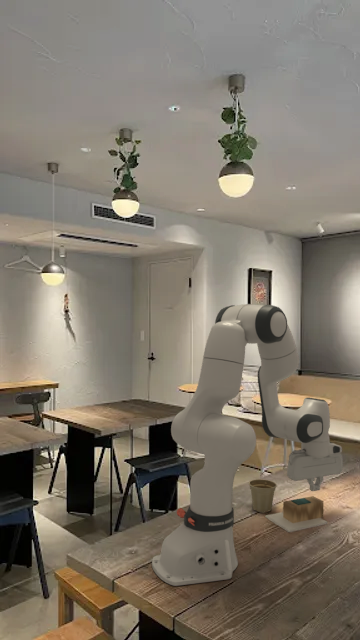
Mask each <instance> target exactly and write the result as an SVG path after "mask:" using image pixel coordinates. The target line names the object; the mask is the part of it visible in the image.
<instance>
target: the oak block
mask: <svg viewBox="0 0 360 640" xmlns="http://www.w3.org/2000/svg"><path fill="white" fill-rule="evenodd" d="M282 503H283V505H282V506H283V507H282V508H283V511H282V512H283V517H284V518H285V519H287V520H289V521H290V522H292V523H296V522H301V521H306V520H311V519H316V518H321V519H322V518H324V503H325V502H324V500H322V499H319V498H317V497H316V496H314V495H312V496H307V497H300V498H296V499H295V498H294V499H289V500H284V501H282Z"/></svg>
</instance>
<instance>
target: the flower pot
mask: <svg viewBox="0 0 360 640" xmlns="http://www.w3.org/2000/svg"><path fill="white" fill-rule="evenodd" d="M248 485H249V489H250V494H251V495H250V496H251V501H252V509H253V511H257V512H258V513H268V512H271V511H272V508H273V502H274V495H275V491H276V488H277V487H278V485H277V482H275V481H272V480H269V479H261V478H260V479H259V478H258V479H251V480H250V481H248Z"/></svg>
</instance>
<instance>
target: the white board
mask: <svg viewBox="0 0 360 640" xmlns="http://www.w3.org/2000/svg"><path fill="white" fill-rule="evenodd" d="M265 518H266V519H267V520H269V521H270V522H272V523H273V524H275V525H276V526H278V527H280V528H282V529H283V530H284V531H286V532H287V533H293V532H296V531H302V530H305V529H310V528H311V529H312V528H315V527H319V526H320V527H321V526H325V525H328V522H329V521H327V520H325V519H323V518H322V517H321V518H316V519H311V520H306V521H301V522H296V523H292V522H290V521H289V520H287V519H285V518H284V517H283V511H282V512H277V513H271V514H266V515H265Z"/></svg>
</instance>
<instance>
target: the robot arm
mask: <svg viewBox="0 0 360 640" xmlns="http://www.w3.org/2000/svg"><path fill="white" fill-rule="evenodd" d="M247 344H251V345H252V344H256V345H257V349H258V350H257V351H258V353H259V354H258V355H259V357H260V364H261V365H260V366H259V368H258V370H257V385H258V386H257V387H258V391H259V398H260V404H261V405H260V406H261V425H262V429H263V431H264V433H265V434H266V435H267V436H268V437H270V438H278V439H284V440H286V441H291V442H295V443H296V442H297V443H301V445H300V446H301V447H300V448H301V449H294V450H292V451H291V452H290V454H289V455H288V463H287V470H286V471H287V472H286V476H287V477H288V479H289V480H291V481H294V482H297V481H304V480H306V481H307V483H308V485H309V491H310V492H316V491H320V490H321V485H322V483H323V480H324V477H329V476H333V475H339V474H342V471H343V466H344V465H343V464H344V463H343V455H342V451H343V447H342V446H341V445H339V444H336V443H334V442H331V441H330V434H329V432H330V426H331V424H330V423H331V419H330V417H331V416H330V415H331V413H330V408H329V407H330V406H329V403H328V402H327V401H326V400H324V399H320V398H314V397H305V398H304V399H303V404H302V405H301V406H300V407H299V408H297V409H296V410H295V409H293V408H286V407H284V406H283V405H281V404H280V401H279V393H278V385H277V383H278V382H282V381H284V380H287V379H288V378H289V377H291V376H293V375H294V373H295V372H296V371H297V369H298V367H299V365H300V357H299V352H298V348H297V345H296V343H295V339H294V336H293V334H292V331H291V329H290V327H289V324H288V319H287V317H286V314H285V313H284V311H283V310H282V309H281V308H280V307H279V306H275V305H273V304H253V303H252V304H251V303H246V304H245V303H244V304H237V305H235V304H234V305H233V304H232V305H229V306H225V307H223V308H221V309H220V310H219V311H218V313H217V316H216V318H215V321H214V324H213V325H212V327H211V328H210V331H209V334H208V336H207V340H206V343H205V347H204V350H203V351H204V352H203V356H202V363H201V368H200V374H199V377H198V383H197V386H196V389H195V392H194V394H193V396H192V398H191V399H190V401H189V403H188V404H187V405H186V406H185V408H184V409H183V410H180V411H179V412H178V413H177V414H176V415H175V416H174V418H173V419H172V422H171V426H170V427H171V428H170V433H171V434H170V435H171V438H172V440H173V441H174V442H175V443H176V444H177V445H179V446H180V447H183V448H184V449H186V450H188V451H191V452H194V453H198V454H201V455H204V465H203V467H202V468H200V469H199V470H197V471H196V472H195V473H194V474H192V476H191V479H190V482H189V483H190V484H189V486H190V487H189V494H190V496H189V503H190V504H189V506H188V508H187V511H186V510H184V509H183V507H182V508H181V507H180V508H178V509H177V510H176V515H177V516H178V517H180V518H181V519H183V522H182V523H181V524H179V526H177V528H175V529H174V530H173V531H172V532H171V533H170V534H169V535H167V536H166V537H165V538H164V540H163V541H162V544H161V549H160V554H158V555H155V556H153V557H152V559H151V560H152V561H151V568H152V570H153V571H154V573H155V575H156V576H157V577H158V578H159V579H160V580H162V581H163V582H165V583H167V585H170V586H176V587H177V586H184V585H185V586H186V585H193V584H194V585H195V584H200V583H209V582H217V581H223V580H224V581H225V580H230V579H231V578H233V572H234V571H235V570H236V569H237V567H238V565H239V560H238V557H237V554H236V549H235V543H234V531H233V528H234V523H235V521H234V520H235V511H234V510H235V509H234V507H233V493H234V492H233V490H234V488H233V487H234V482H235V481H234V480H235V476H236V473H237V471H238V470H239V468H240V466H241V465H242V464H243V463H244V462H245V461H247V460H249V459H250V458H251V456H252V455H253V453H254V452H255V449H256V445H257V435H256V432H255V430H254V428H253V426H252V425H251V424H249V423H247V422H246V421H244V420H242V419H239V418H237V417H234V416H229V415H224V414H222V411H223V409H224V407H225V406H226V404H227V403H228V402H229V401H232V400H233V399H235V398H237V396H238V394H239V393H240V390H241V386H242V379H243V372H244V366H245V356H246V346H247ZM315 479H316V480H315Z"/></svg>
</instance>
